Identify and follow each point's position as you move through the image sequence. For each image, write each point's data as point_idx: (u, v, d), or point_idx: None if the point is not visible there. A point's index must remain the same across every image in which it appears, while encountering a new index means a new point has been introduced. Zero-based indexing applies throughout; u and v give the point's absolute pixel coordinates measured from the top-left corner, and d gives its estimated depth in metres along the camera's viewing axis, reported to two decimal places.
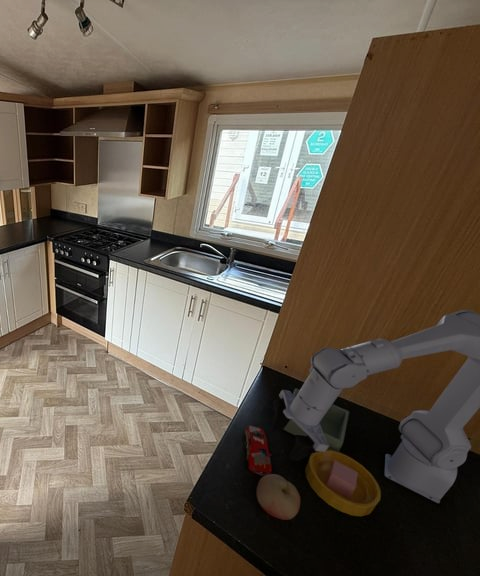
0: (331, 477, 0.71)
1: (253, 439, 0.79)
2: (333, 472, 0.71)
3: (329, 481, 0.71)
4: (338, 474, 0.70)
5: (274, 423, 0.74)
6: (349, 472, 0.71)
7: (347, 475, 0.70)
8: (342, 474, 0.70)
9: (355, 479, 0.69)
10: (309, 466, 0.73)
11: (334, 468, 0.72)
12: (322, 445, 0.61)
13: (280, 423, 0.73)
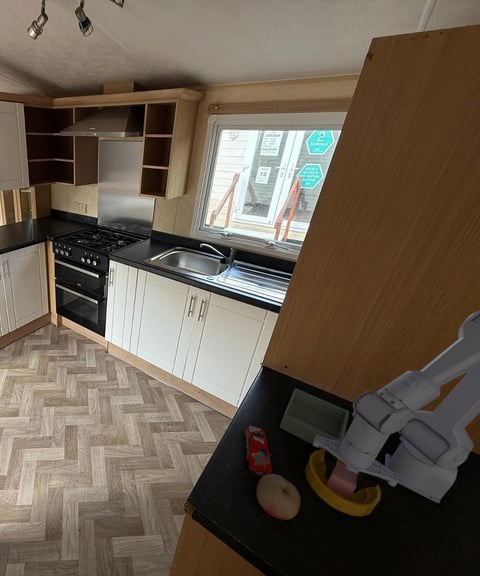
0: (331, 477, 0.71)
1: (253, 439, 0.79)
2: (333, 472, 0.71)
3: (329, 481, 0.71)
4: (338, 474, 0.70)
5: (329, 474, 0.72)
6: (349, 472, 0.71)
7: (347, 475, 0.70)
8: (342, 474, 0.70)
9: (355, 479, 0.69)
10: (309, 466, 0.73)
11: (334, 468, 0.72)
12: (397, 479, 0.64)
13: None
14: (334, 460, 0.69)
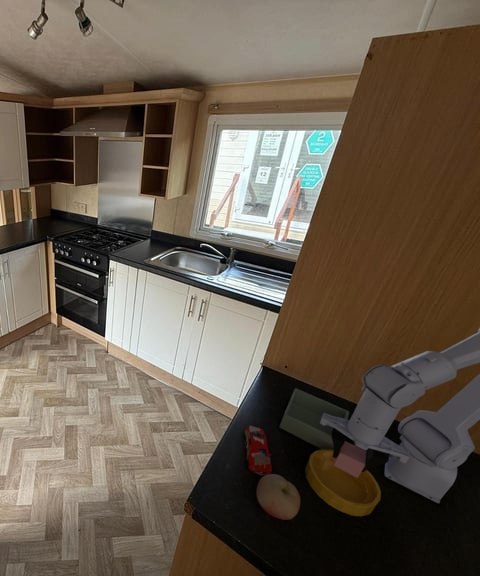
0: (339, 456, 0.69)
1: (253, 439, 0.79)
2: (341, 451, 0.69)
3: (337, 460, 0.69)
4: (346, 452, 0.68)
5: (337, 454, 0.70)
6: (358, 451, 0.69)
7: (356, 454, 0.68)
8: (351, 452, 0.68)
9: (364, 457, 0.67)
10: (309, 466, 0.73)
11: (342, 447, 0.70)
12: (408, 455, 0.62)
13: None
14: (342, 438, 0.68)
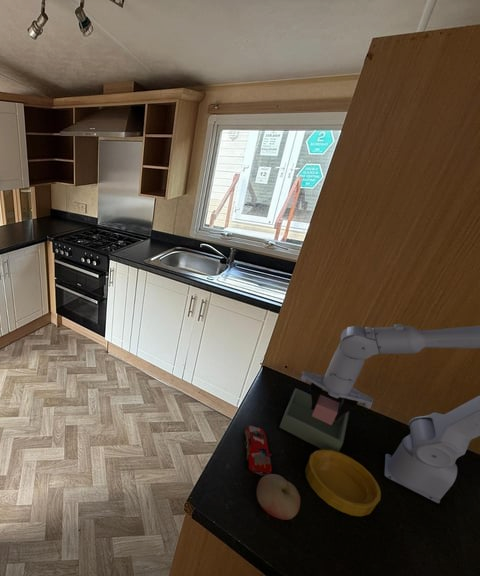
0: (316, 407, 0.80)
1: (253, 439, 0.79)
2: (318, 403, 0.80)
3: (314, 411, 0.81)
4: (322, 404, 0.80)
5: (314, 405, 0.81)
6: (332, 402, 0.80)
7: (330, 405, 0.80)
8: (326, 404, 0.80)
9: (337, 407, 0.79)
10: (309, 466, 0.73)
11: (319, 400, 0.81)
12: (372, 402, 0.73)
13: None
14: (318, 391, 0.79)
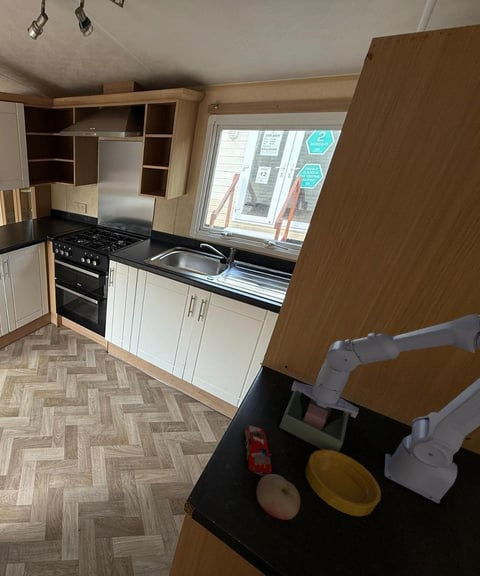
0: (306, 415, 0.85)
1: (253, 439, 0.79)
2: (307, 411, 0.85)
3: (304, 419, 0.86)
4: (311, 412, 0.85)
5: (304, 414, 0.86)
6: (321, 411, 0.85)
7: (319, 413, 0.84)
8: (315, 412, 0.85)
9: (325, 416, 0.84)
10: (309, 466, 0.73)
11: (309, 408, 0.86)
12: (357, 411, 0.78)
13: (306, 410, 0.87)
14: (308, 400, 0.84)
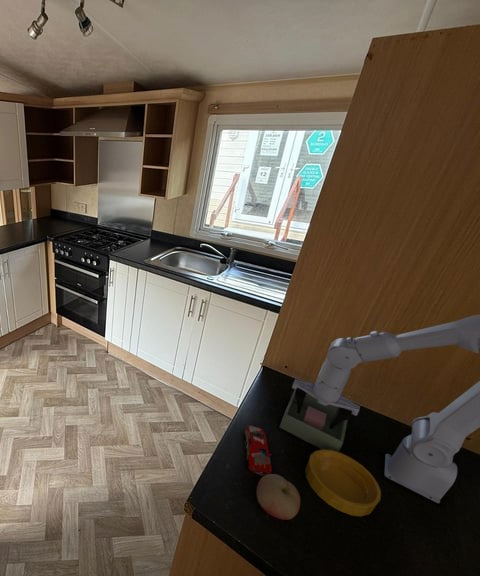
0: (305, 418, 0.86)
1: (253, 439, 0.79)
2: (306, 414, 0.85)
3: None
4: (310, 415, 0.85)
5: (299, 409, 0.87)
6: (320, 414, 0.85)
7: (318, 416, 0.85)
8: (314, 415, 0.85)
9: (324, 418, 0.84)
10: (309, 466, 0.73)
11: (307, 411, 0.86)
12: (359, 409, 0.78)
13: (301, 406, 0.87)
14: (303, 396, 0.84)
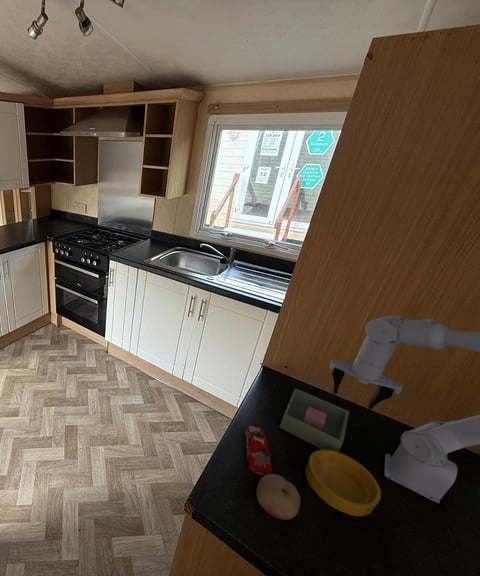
0: (305, 418, 0.86)
1: (253, 439, 0.79)
2: (306, 414, 0.85)
3: None
4: (310, 415, 0.85)
5: (336, 390, 0.85)
6: (320, 414, 0.85)
7: (318, 416, 0.85)
8: (314, 415, 0.85)
9: (324, 418, 0.84)
10: (309, 466, 0.73)
11: (307, 411, 0.86)
12: (401, 387, 0.76)
13: (338, 386, 0.86)
14: (341, 375, 0.83)
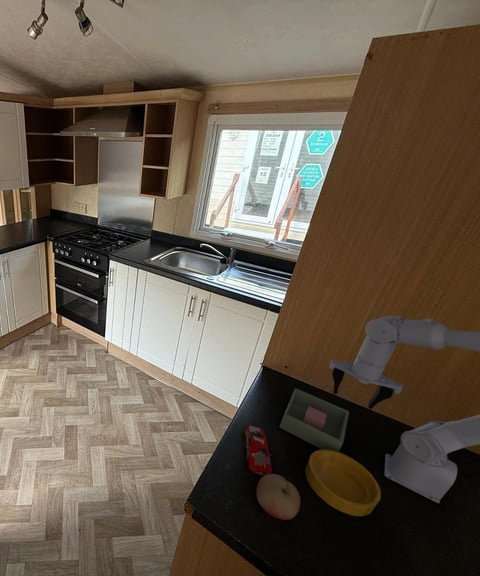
0: (305, 418, 0.86)
1: (253, 439, 0.79)
2: (306, 414, 0.85)
3: None
4: (310, 415, 0.85)
5: (336, 390, 0.85)
6: (320, 414, 0.85)
7: (318, 416, 0.85)
8: (314, 415, 0.85)
9: (324, 418, 0.84)
10: (309, 466, 0.73)
11: (307, 411, 0.86)
12: (401, 387, 0.76)
13: (338, 386, 0.86)
14: (341, 375, 0.83)
